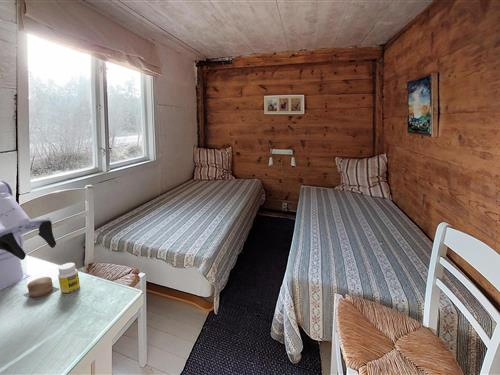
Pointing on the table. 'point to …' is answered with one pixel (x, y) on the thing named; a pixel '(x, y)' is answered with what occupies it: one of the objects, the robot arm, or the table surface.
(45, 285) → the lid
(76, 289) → the supplement bottle
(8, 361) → the table surface
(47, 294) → the mat
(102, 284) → the table surface
